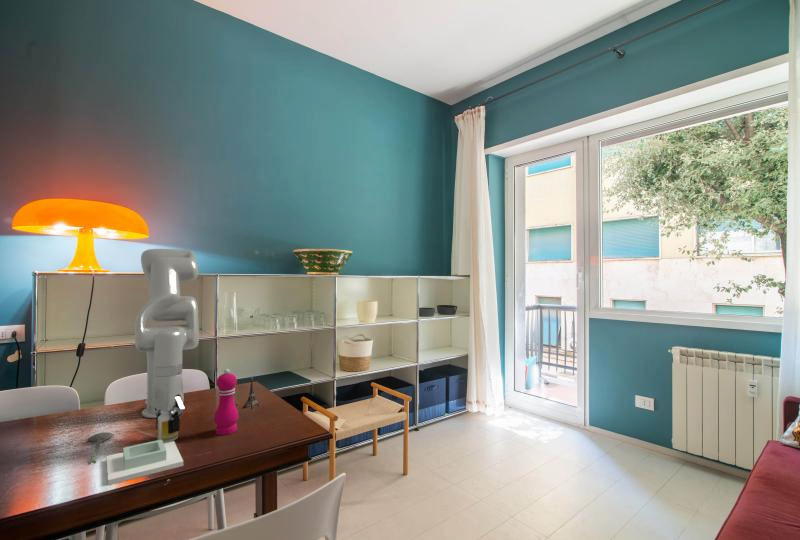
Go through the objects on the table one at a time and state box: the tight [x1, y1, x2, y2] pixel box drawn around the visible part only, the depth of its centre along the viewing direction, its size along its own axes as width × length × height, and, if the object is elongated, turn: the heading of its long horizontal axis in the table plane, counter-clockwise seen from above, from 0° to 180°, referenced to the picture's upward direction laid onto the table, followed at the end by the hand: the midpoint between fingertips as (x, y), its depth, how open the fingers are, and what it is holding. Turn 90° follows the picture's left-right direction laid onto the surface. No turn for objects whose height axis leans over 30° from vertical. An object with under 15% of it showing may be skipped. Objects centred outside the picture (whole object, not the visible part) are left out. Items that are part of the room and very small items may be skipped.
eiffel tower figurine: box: [242, 375, 262, 411], centre depth 151 cm, size 15×10×13 cm
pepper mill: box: [213, 368, 239, 436], centre depth 128 cm, size 7×7×20 cm
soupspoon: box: [87, 431, 115, 465], centre depth 115 cm, size 22×3×7 cm
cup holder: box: [106, 439, 184, 486], centre depth 106 cm, size 16×16×4 cm
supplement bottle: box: [157, 407, 179, 443], centre depth 122 cm, size 5×5×10 cm
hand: (167, 429), depth 122 cm, fingers closed on supplement bottle, 5 cm apart
